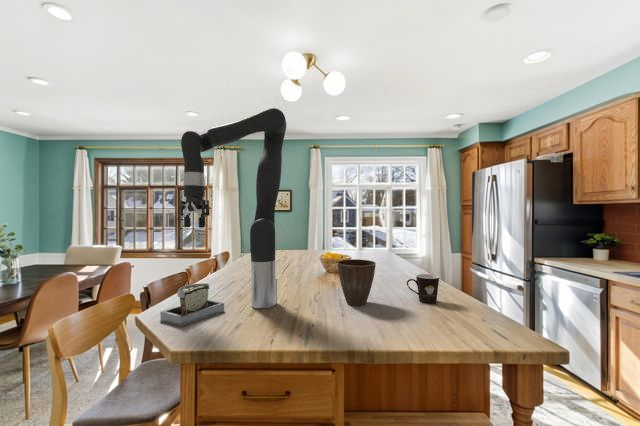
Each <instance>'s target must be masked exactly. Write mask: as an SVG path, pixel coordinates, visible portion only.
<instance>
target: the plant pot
mask: <svg viewBox="0 0 640 426" xmlns="http://www.w3.org/2000/svg"><path fill="white" fill-rule="evenodd" d="M336 262H337V263H336V264H337V270H338V271H337V272H338V276H339V277H338V278H339V282H340V286H341V289H342V293H343V296H344V299H345V301H346V304H347V305H349V306H353V307H354V306H355V307H362V306H365V305H366V304H367V303H368V302H367V301H368V299H369V296H370V293H371V289H372V286H373V282H374V278H375V272H376V271H375V270H376V264H377V263H376V261H373V260H368V259H358V258H357V259H352V258H351V259H341V260H338V261H336Z"/></svg>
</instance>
